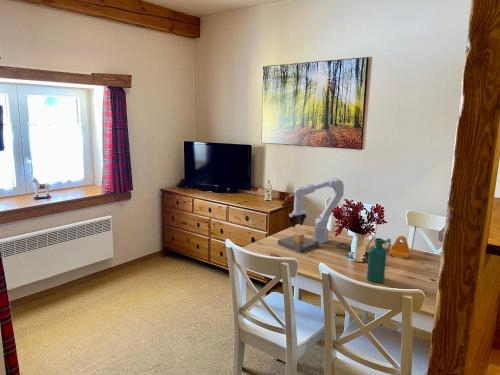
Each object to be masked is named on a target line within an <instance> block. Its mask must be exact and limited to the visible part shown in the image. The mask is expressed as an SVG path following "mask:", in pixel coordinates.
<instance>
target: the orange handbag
mask: <svg viewBox="0 0 500 375" xmlns="http://www.w3.org/2000/svg"><path fill="white" fill-rule="evenodd" d="M400 240H401V241H402V242H401V241H400ZM388 251H389V255H390V256H392V257H393V258H396V257H397V258H396V259H401V258H403V259H409V257H410V255H411V251H410V248H409V244H408V240H407V238H406V236H404V235H399V236H397V238H396V240H395V241H394V243H393V245H392V247H391V249H389V250H388Z"/></svg>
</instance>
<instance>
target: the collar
mask: <svg viewBox="0 0 500 375" xmlns="http://www.w3.org/2000/svg"><path fill="white" fill-rule="evenodd" d="M277 245H278V246H281V247H283V248H285V249H288V250H291V251H294V252H295V253H304V252H307V251H310V250H313V249H316V248H319V247H320V244H319V242H317V241H314V240H313V239H311V238H309V237H305V236H304V242H302V243H297V242H294V235H292V236H287V237H283V238H281V239H277Z"/></svg>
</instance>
